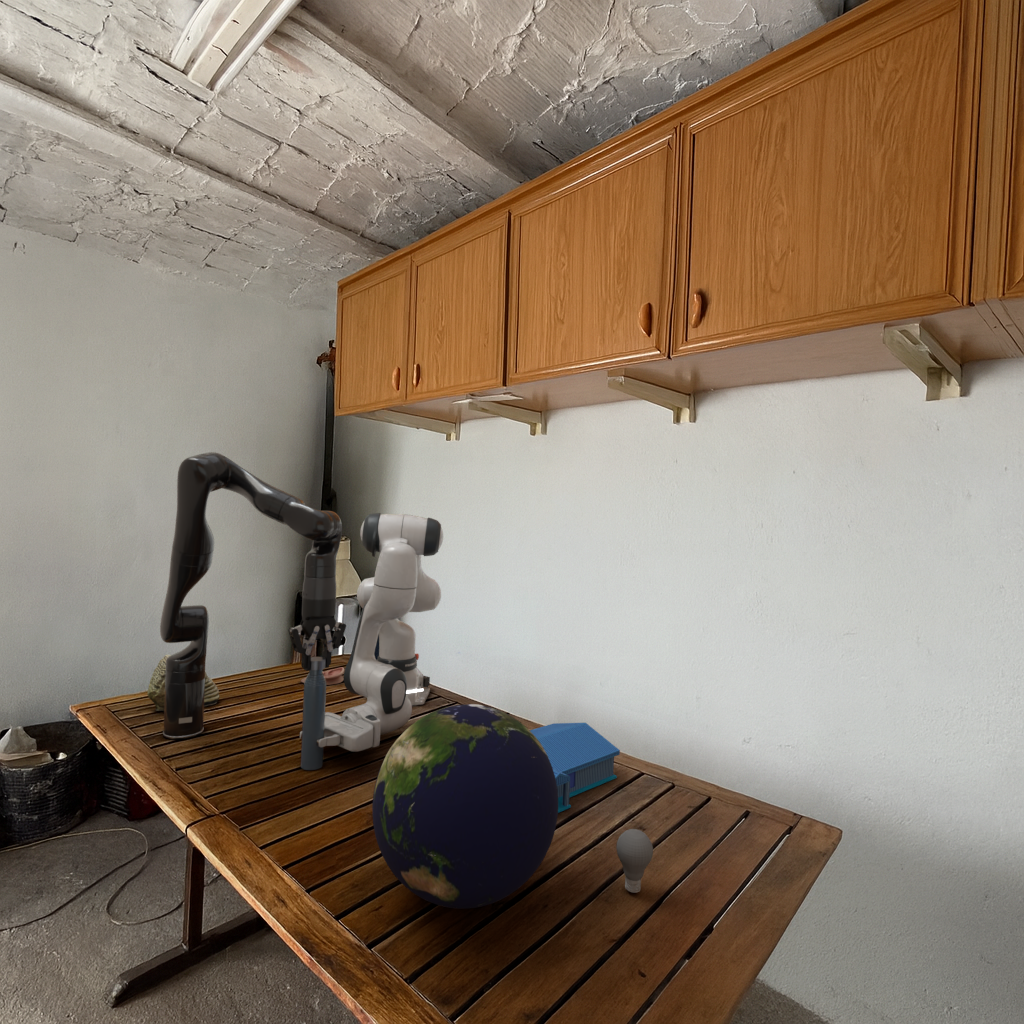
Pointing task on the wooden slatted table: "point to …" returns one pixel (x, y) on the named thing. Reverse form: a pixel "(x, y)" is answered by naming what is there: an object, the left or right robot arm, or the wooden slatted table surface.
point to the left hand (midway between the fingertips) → (316, 668)
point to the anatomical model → (332, 676)
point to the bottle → (313, 720)
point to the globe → (465, 806)
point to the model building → (576, 758)
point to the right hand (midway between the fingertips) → (309, 739)
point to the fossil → (158, 687)
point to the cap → (318, 663)
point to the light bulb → (634, 857)
